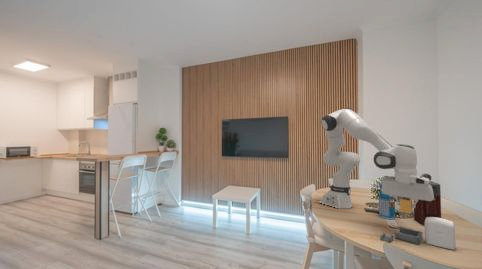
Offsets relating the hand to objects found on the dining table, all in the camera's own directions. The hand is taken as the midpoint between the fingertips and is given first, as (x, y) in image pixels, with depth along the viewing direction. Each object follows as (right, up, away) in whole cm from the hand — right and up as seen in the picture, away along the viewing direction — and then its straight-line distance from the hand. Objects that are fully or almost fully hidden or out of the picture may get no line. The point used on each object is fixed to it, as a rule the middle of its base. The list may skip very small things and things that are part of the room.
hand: (406, 206), depth 107 cm
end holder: (+1, -15, -1) cm, 15 cm away
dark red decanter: (+25, -16, +17) cm, 34 cm away
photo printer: (+9, -15, -8) cm, 19 cm away
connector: (0, -3, 0) cm, 3 cm away
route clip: (-11, -15, -2) cm, 19 cm away
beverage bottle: (+9, -16, +28) cm, 34 cm away
